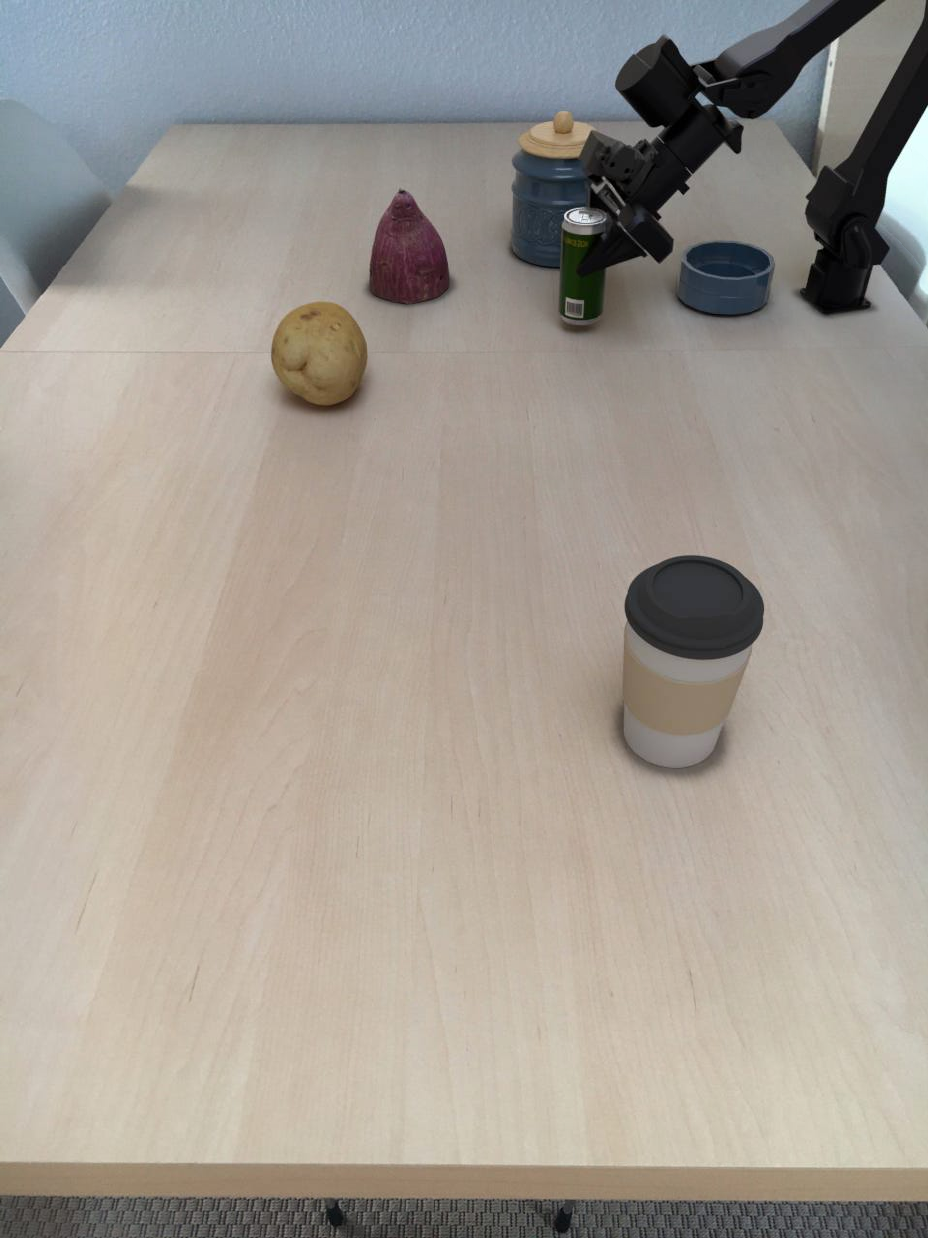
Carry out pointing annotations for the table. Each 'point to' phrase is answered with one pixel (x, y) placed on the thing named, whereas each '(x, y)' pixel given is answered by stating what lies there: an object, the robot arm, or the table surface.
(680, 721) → the coffee cup
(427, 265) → the vegetable
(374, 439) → the table surface
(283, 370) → the potato
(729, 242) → the bowl
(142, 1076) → the table surface
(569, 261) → the beer can
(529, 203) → the canister
